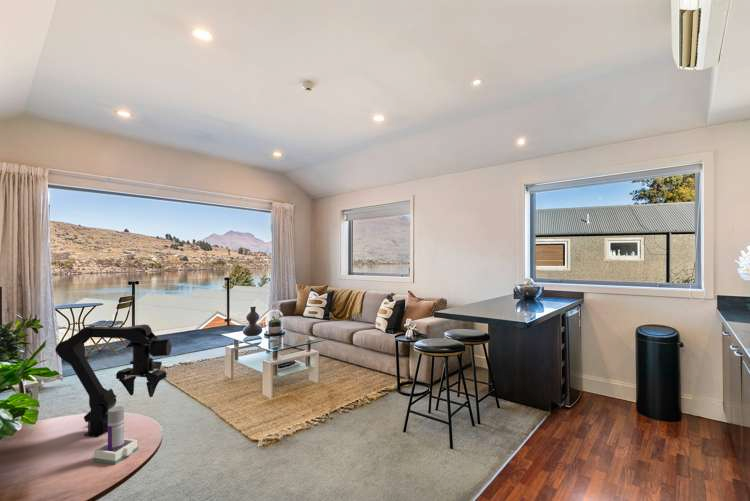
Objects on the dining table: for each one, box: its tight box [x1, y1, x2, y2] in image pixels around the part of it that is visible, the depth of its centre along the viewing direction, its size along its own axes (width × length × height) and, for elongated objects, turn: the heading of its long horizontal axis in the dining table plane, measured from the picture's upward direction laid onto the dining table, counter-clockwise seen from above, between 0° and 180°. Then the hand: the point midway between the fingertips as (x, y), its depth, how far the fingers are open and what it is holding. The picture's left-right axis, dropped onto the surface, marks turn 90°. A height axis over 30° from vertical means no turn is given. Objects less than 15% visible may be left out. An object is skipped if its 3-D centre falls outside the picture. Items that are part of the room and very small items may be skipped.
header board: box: [92, 437, 139, 465], centre depth 124 cm, size 10×9×4 cm
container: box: [107, 405, 125, 452], centre depth 124 cm, size 5×5×15 cm
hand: (141, 396), depth 143 cm, fingers open, 9 cm apart
